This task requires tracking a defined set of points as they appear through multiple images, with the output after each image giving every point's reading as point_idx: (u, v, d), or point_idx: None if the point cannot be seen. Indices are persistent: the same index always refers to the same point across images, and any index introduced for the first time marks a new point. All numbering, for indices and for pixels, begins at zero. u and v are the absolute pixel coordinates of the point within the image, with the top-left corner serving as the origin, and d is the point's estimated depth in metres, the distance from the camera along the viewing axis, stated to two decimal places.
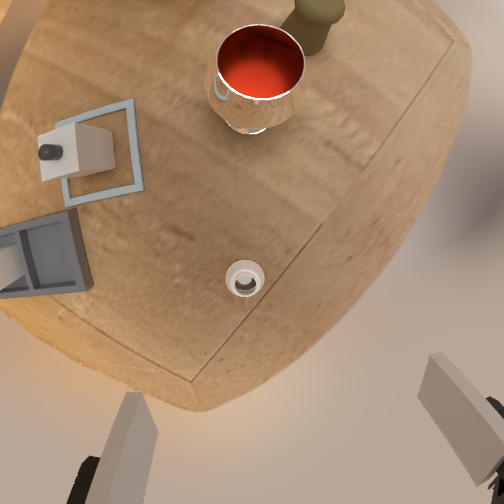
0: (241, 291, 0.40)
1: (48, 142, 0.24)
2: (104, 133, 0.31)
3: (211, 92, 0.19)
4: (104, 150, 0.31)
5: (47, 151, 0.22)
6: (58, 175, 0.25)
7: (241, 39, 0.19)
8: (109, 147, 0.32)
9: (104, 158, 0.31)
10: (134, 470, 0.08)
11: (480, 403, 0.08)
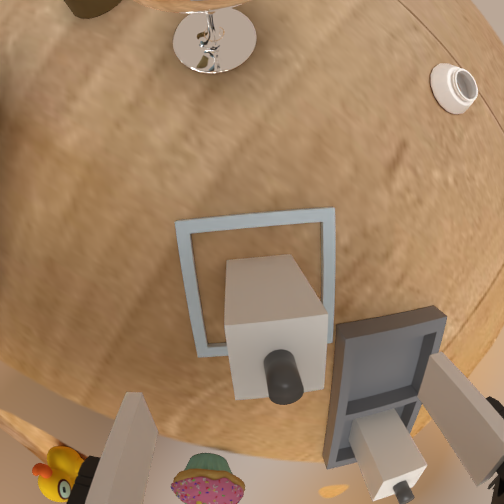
0: None
1: (254, 379, 0.15)
2: (234, 270, 0.21)
3: None
4: (265, 269, 0.21)
5: (286, 385, 0.12)
6: (324, 357, 0.15)
7: None
8: (256, 262, 0.22)
9: (280, 269, 0.21)
10: (134, 470, 0.08)
11: (480, 403, 0.08)
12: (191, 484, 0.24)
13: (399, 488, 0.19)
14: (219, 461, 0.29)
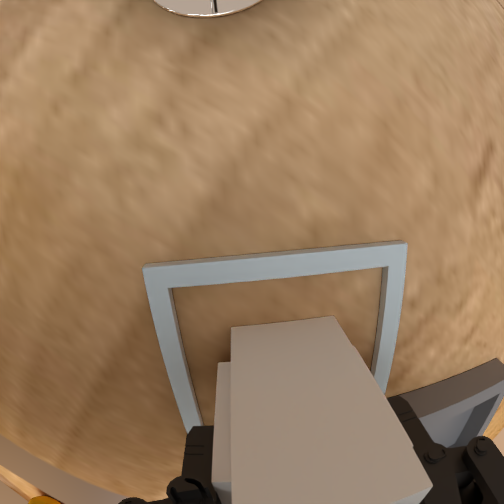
0: None
1: None
2: (244, 356, 0.12)
3: None
4: (299, 356, 0.11)
5: None
6: None
7: None
8: (282, 336, 0.13)
9: (325, 356, 0.11)
10: None
11: None
12: None
13: None
14: None
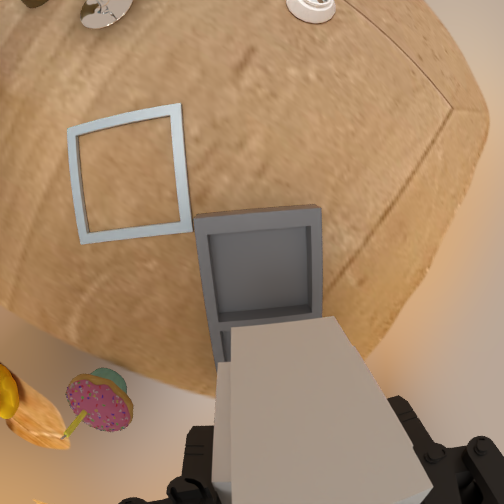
0: None
1: None
2: (245, 357, 0.12)
3: None
4: (300, 356, 0.11)
5: None
6: None
7: None
8: (282, 337, 0.13)
9: (326, 357, 0.11)
10: None
11: None
12: (77, 387, 0.26)
13: None
14: (113, 376, 0.31)
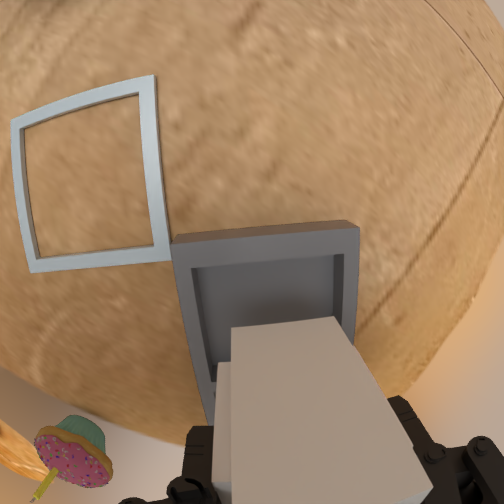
0: None
1: None
2: (245, 357, 0.12)
3: None
4: (299, 357, 0.11)
5: None
6: None
7: None
8: (282, 337, 0.13)
9: (326, 357, 0.11)
10: None
11: None
12: (44, 442, 0.18)
13: None
14: (87, 427, 0.22)
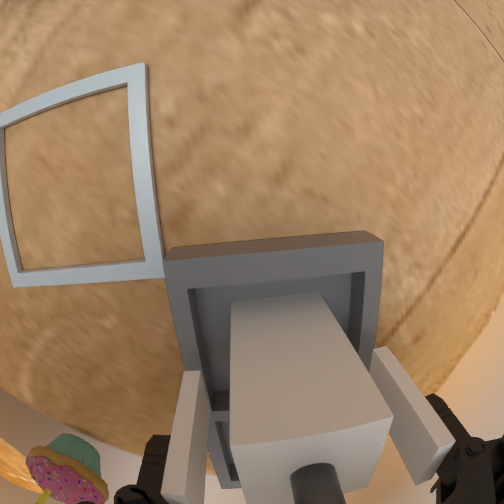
0: None
1: (275, 492, 0.08)
2: (242, 322, 0.14)
3: None
4: (287, 320, 0.14)
5: None
6: (375, 460, 0.08)
7: None
8: (273, 307, 0.16)
9: (308, 320, 0.14)
10: (199, 444, 0.10)
11: (416, 399, 0.09)
12: (35, 463, 0.15)
13: None
14: (80, 447, 0.20)
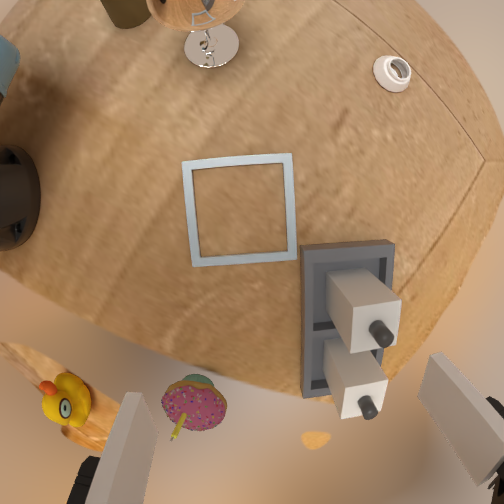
0: None
1: (362, 338, 0.26)
2: (336, 278, 0.32)
3: (207, 4, 0.15)
4: (355, 277, 0.32)
5: (386, 335, 0.23)
6: (397, 324, 0.26)
7: None
8: (347, 273, 0.34)
9: (364, 277, 0.32)
10: (134, 470, 0.08)
11: (480, 403, 0.08)
12: (179, 393, 0.33)
13: (363, 401, 0.27)
14: (206, 380, 0.38)
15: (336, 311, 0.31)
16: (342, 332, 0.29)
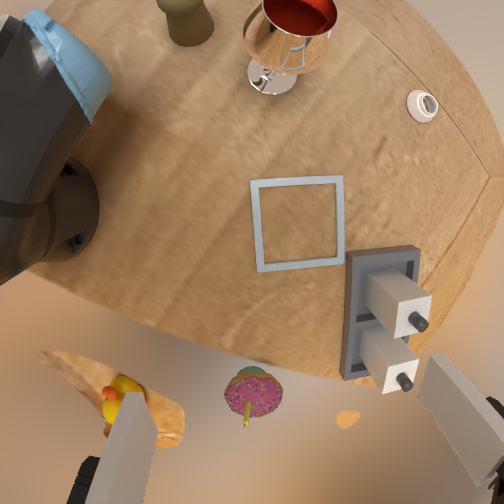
0: (429, 112, 0.35)
1: (403, 326, 0.32)
2: (376, 278, 0.38)
3: (312, 58, 0.20)
4: (391, 277, 0.38)
5: (423, 323, 0.30)
6: (428, 314, 0.32)
7: (247, 37, 0.20)
8: (383, 274, 0.40)
9: (398, 277, 0.38)
10: (134, 470, 0.08)
11: (480, 403, 0.08)
12: (244, 384, 0.39)
13: (401, 377, 0.34)
14: (262, 371, 0.44)
15: (378, 305, 0.37)
16: (385, 322, 0.35)
